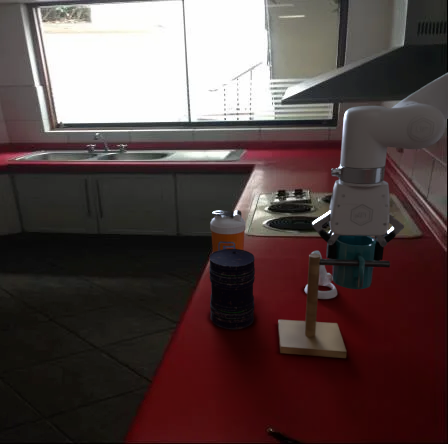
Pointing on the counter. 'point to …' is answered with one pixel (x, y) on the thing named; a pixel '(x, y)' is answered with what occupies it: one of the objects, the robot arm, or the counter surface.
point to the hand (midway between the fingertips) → (353, 261)
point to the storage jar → (232, 288)
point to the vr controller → (324, 282)
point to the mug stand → (310, 329)
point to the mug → (354, 250)
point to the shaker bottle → (227, 230)
